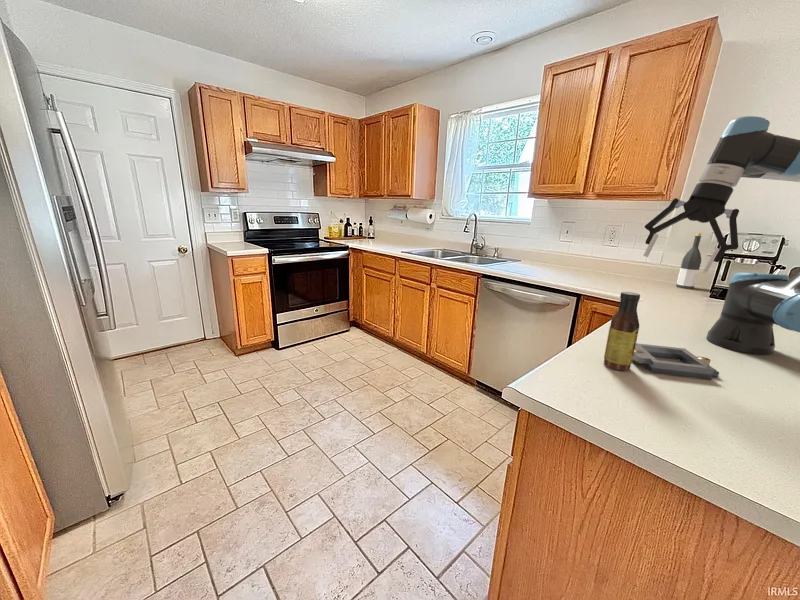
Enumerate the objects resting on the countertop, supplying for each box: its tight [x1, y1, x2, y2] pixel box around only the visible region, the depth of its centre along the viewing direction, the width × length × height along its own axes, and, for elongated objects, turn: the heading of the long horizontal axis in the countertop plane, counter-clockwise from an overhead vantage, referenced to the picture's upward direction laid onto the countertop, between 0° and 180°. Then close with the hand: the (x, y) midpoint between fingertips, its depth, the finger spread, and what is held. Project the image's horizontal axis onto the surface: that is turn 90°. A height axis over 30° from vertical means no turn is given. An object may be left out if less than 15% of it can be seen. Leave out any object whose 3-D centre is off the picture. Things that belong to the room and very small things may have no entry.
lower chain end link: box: [640, 351, 720, 381], centre depth 89 cm, size 16×13×3 cm
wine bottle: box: [675, 232, 702, 290], centre depth 184 cm, size 8×8×30 cm
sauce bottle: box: [603, 291, 641, 372], centre depth 86 cm, size 7×6×20 cm
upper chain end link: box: [632, 342, 715, 375], centre depth 90 cm, size 16×13×3 cm
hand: (673, 264), depth 92 cm, fingers open, 13 cm apart
